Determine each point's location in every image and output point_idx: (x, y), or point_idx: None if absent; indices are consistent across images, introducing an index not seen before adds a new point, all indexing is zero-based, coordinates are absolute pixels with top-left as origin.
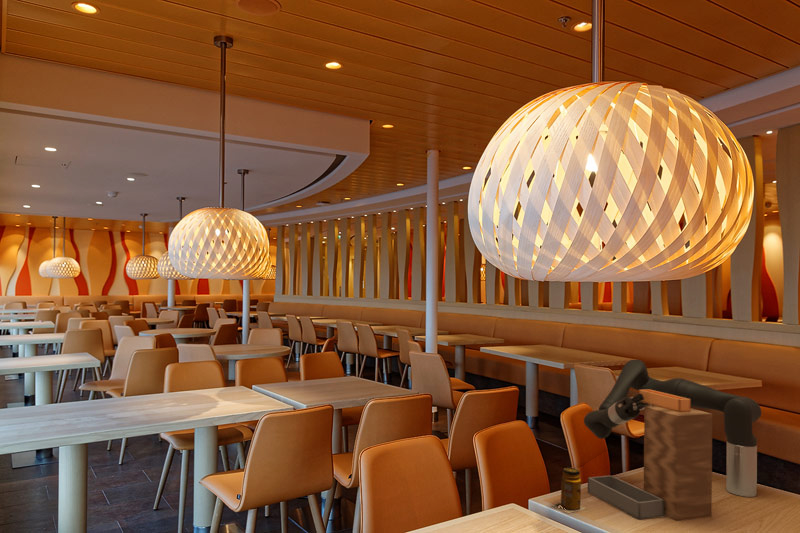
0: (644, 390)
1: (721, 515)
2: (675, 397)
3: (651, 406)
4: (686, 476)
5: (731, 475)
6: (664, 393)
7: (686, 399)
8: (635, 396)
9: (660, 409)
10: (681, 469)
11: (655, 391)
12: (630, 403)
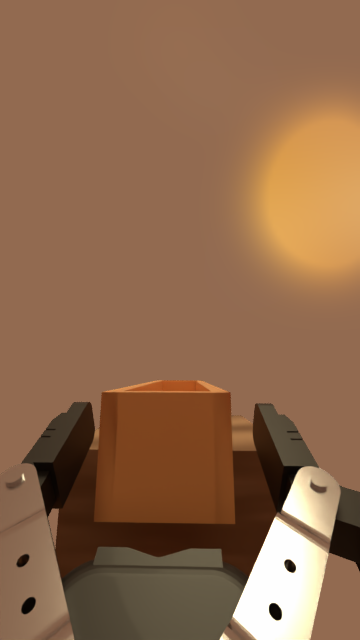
0: (174, 397)
1: None
2: (157, 388)
3: (246, 449)
4: None
5: None
6: (148, 384)
7: (174, 380)
8: (301, 437)
9: (241, 432)
10: None
11: (137, 389)
12: (349, 552)
